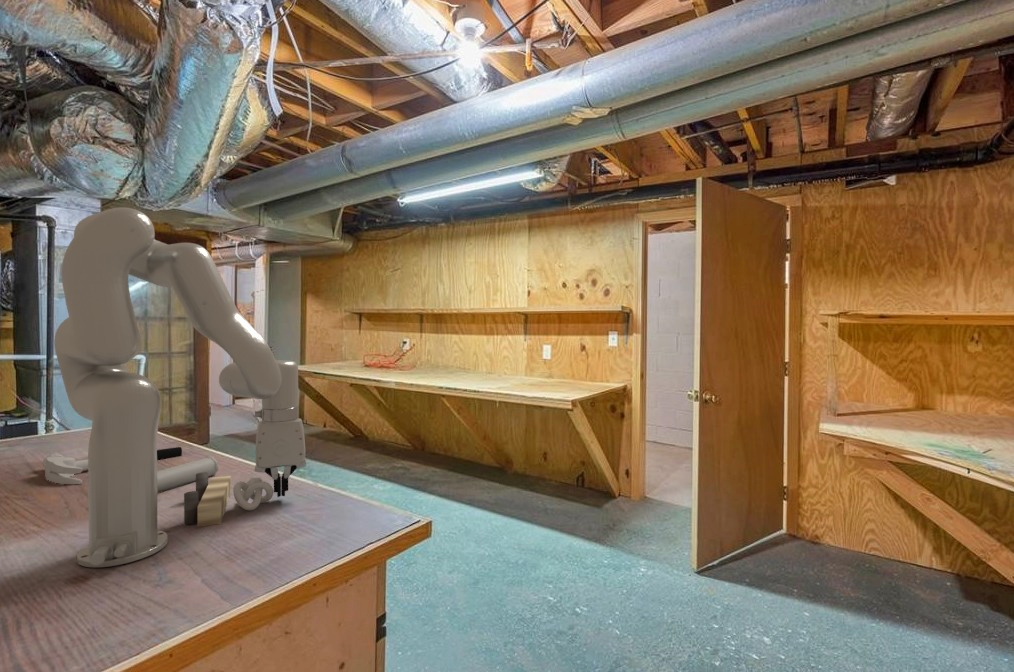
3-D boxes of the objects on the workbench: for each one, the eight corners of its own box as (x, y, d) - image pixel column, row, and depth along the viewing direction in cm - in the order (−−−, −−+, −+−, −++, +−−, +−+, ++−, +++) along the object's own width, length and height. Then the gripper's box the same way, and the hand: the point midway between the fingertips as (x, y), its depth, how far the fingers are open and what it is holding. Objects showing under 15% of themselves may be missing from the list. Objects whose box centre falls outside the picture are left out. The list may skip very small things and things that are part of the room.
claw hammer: (170, 438, 154) (40, 453, 131) (195, 450, 140) (55, 469, 117) (169, 455, 154) (40, 473, 131) (195, 469, 140) (54, 491, 117)
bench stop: (220, 523, 98) (220, 494, 98) (181, 529, 95) (181, 498, 95) (230, 492, 116) (230, 467, 116) (198, 496, 113) (198, 470, 113)
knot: (225, 505, 108) (225, 479, 107) (263, 496, 113) (263, 471, 113) (237, 515, 102) (237, 487, 102) (276, 505, 108) (276, 479, 108)
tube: (115, 492, 105) (220, 461, 128) (100, 481, 107) (206, 452, 130) (110, 513, 106) (216, 479, 129) (96, 502, 108) (202, 470, 131)
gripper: (241, 420, 104) (242, 505, 104) (316, 415, 110) (317, 495, 110) (244, 414, 111) (245, 494, 111) (315, 409, 117) (315, 485, 117)
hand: (281, 494), depth 111 cm, fingers closed
